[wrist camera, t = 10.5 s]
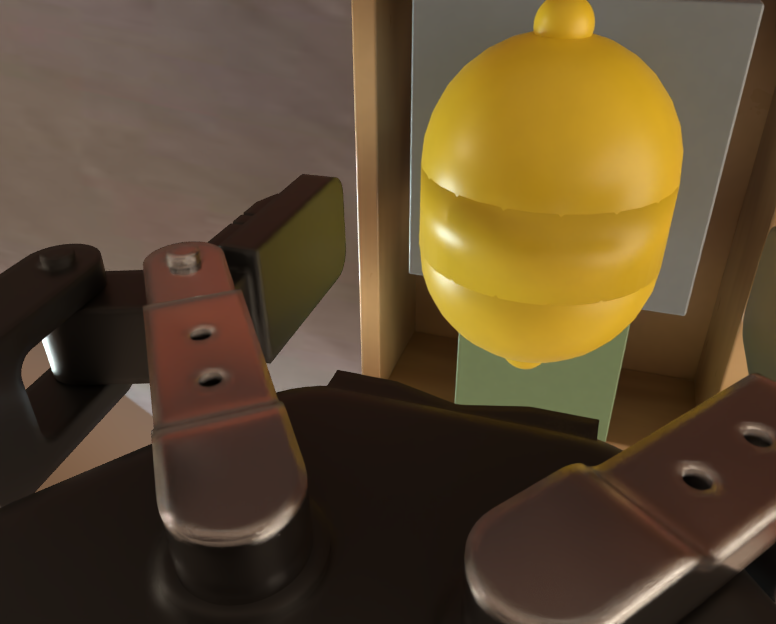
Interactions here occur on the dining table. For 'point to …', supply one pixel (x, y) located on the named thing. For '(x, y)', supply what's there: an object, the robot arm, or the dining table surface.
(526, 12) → the block grey
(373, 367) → the crate
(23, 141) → the dining table surface
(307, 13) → the dining table surface
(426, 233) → the lemon
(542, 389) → the block sage
